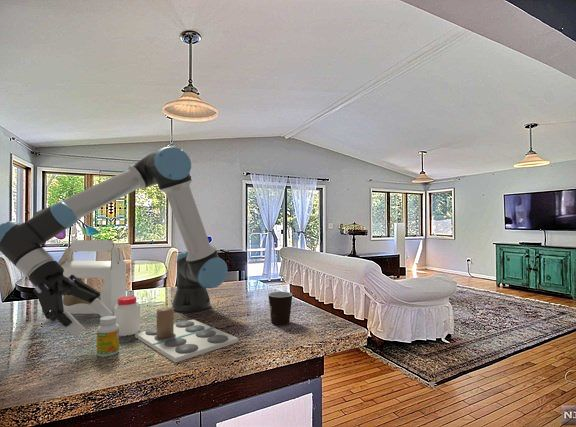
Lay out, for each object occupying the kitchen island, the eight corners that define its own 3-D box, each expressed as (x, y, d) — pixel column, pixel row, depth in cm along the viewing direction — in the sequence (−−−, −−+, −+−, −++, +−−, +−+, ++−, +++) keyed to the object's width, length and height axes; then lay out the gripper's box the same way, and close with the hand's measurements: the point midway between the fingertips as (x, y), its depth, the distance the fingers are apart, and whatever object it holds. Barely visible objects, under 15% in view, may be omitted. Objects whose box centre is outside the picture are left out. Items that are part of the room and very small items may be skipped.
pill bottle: (113, 337, 103) (113, 302, 103) (113, 330, 110) (113, 296, 110) (140, 333, 107) (140, 299, 107) (139, 326, 114) (139, 294, 114)
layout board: (135, 337, 104) (135, 306, 104) (193, 322, 118) (193, 295, 118) (175, 362, 85) (175, 325, 86) (238, 342, 100) (238, 310, 100)
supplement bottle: (94, 358, 88) (94, 321, 88) (99, 350, 93) (100, 315, 94) (116, 355, 90) (116, 319, 90) (120, 348, 95) (121, 314, 95)
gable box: (126, 304, 142) (127, 239, 142) (111, 313, 129) (112, 241, 129) (73, 305, 141) (74, 239, 142) (52, 314, 128) (53, 241, 128)
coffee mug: (289, 327, 113) (289, 297, 113) (265, 325, 115) (265, 296, 115) (296, 317, 124) (296, 290, 125) (273, 315, 126) (273, 289, 126)
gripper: (62, 271, 103) (110, 320, 103) (-9, 288, 79) (54, 352, 78) (79, 254, 104) (127, 303, 103) (14, 266, 79) (77, 330, 79)
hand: (96, 324), depth 91 cm, fingers open, 13 cm apart
